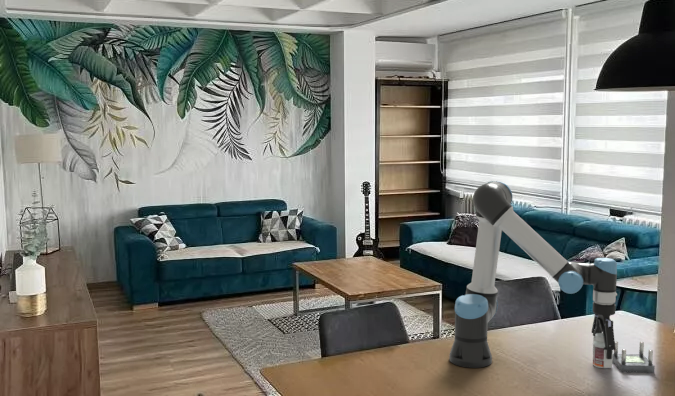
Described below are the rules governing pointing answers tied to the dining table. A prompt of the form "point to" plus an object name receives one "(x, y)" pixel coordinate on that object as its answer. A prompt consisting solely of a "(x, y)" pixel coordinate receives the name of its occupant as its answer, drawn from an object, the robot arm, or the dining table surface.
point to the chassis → (633, 360)
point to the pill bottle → (598, 351)
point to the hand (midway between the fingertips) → (602, 361)
